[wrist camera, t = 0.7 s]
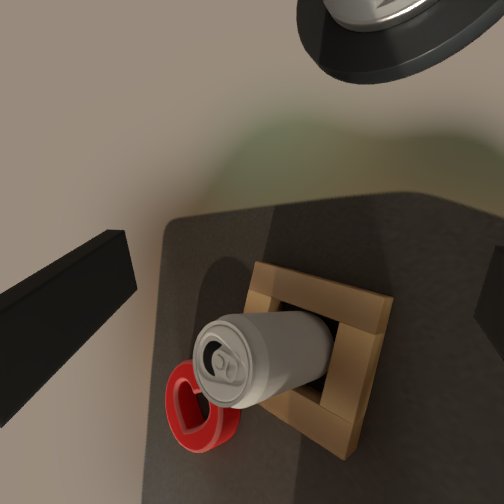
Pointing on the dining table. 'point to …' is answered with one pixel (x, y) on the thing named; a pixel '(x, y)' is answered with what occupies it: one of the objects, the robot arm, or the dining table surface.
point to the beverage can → (260, 356)
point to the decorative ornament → (196, 413)
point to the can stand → (343, 356)
